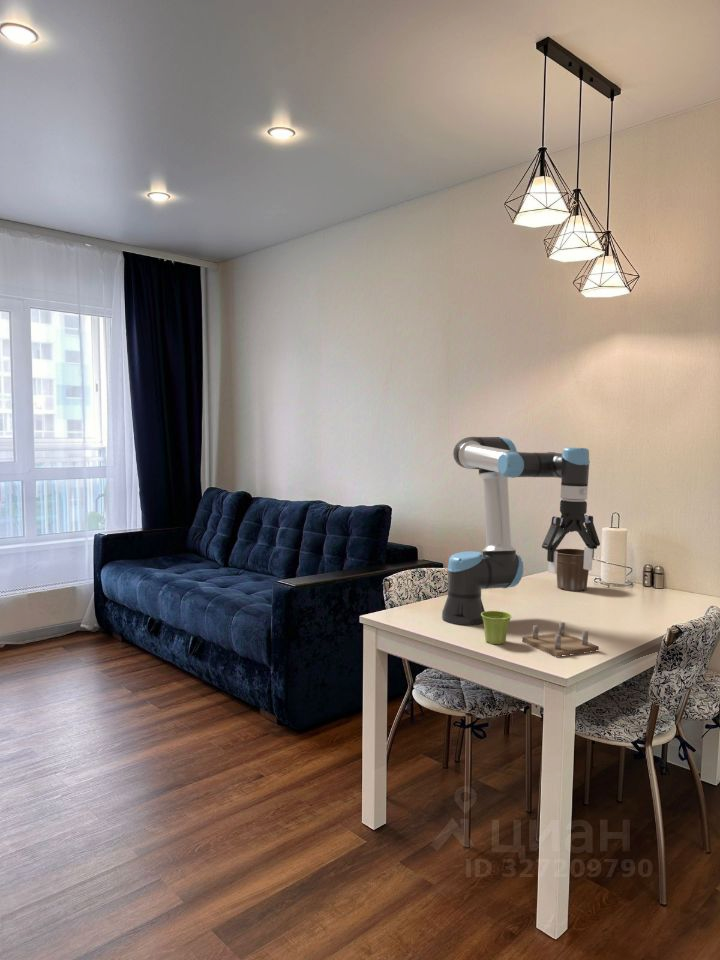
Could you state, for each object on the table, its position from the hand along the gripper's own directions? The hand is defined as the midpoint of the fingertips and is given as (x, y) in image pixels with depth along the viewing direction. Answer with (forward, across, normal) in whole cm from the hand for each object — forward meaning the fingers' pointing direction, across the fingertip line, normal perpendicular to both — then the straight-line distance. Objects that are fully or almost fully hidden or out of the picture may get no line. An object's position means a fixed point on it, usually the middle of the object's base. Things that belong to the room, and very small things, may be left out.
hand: (570, 571), depth 199 cm
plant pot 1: (+25, -13, +17) cm, 33 cm away
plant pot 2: (+26, +65, +68) cm, 97 cm away
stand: (+25, +2, +5) cm, 25 cm away
